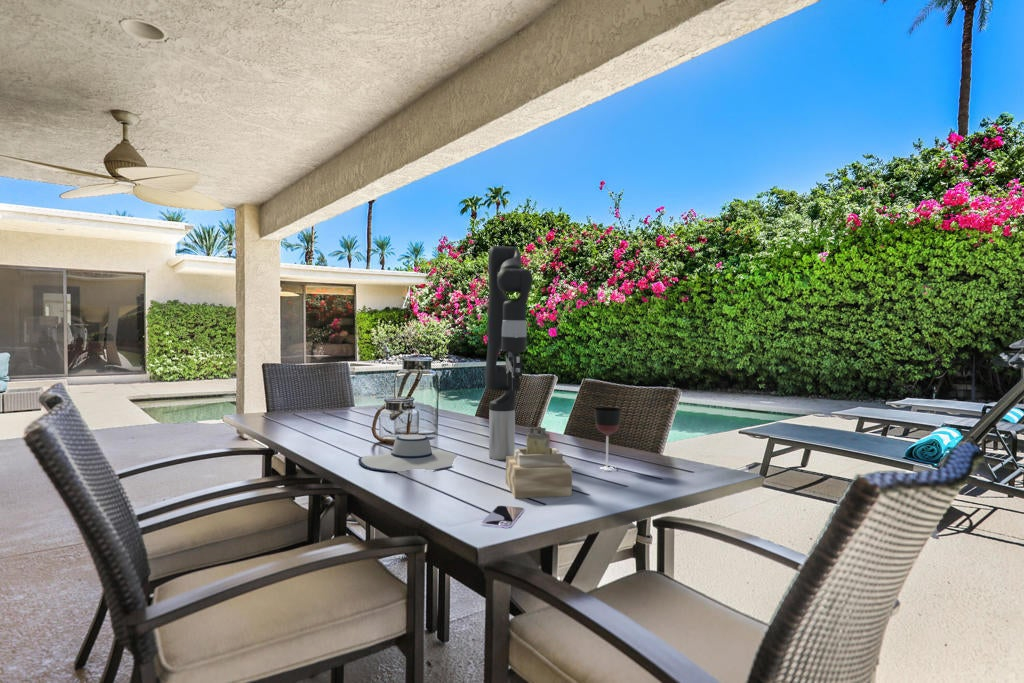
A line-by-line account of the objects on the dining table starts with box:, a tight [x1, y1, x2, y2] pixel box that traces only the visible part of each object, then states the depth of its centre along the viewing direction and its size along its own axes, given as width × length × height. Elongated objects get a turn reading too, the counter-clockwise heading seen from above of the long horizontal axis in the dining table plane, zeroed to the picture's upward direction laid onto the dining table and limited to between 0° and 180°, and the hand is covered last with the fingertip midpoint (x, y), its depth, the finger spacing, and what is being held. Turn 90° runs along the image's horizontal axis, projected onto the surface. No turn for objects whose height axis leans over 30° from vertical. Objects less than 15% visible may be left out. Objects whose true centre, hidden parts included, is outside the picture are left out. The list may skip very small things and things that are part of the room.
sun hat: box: [357, 433, 457, 473], centre depth 205 cm, size 36×36×9 cm
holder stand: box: [505, 447, 573, 499], centre depth 170 cm, size 16×16×11 cm
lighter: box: [526, 426, 551, 455], centre depth 170 cm, size 7×4×10 cm, turn 67°
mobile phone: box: [480, 505, 525, 529], centre depth 145 cm, size 8×1×15 cm
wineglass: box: [593, 406, 622, 470], centre depth 194 cm, size 8×9×20 cm
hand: (513, 388), depth 178 cm, fingers open, 8 cm apart
